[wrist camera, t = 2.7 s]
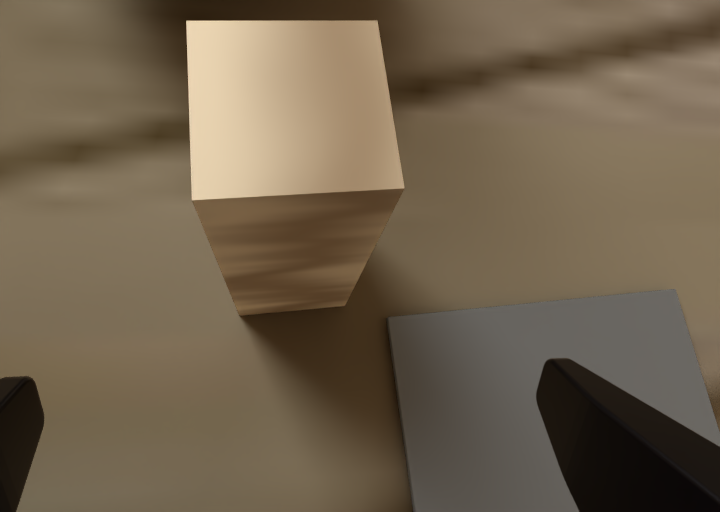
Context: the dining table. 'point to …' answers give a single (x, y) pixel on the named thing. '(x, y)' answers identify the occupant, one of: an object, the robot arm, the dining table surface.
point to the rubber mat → (528, 391)
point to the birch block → (291, 156)
